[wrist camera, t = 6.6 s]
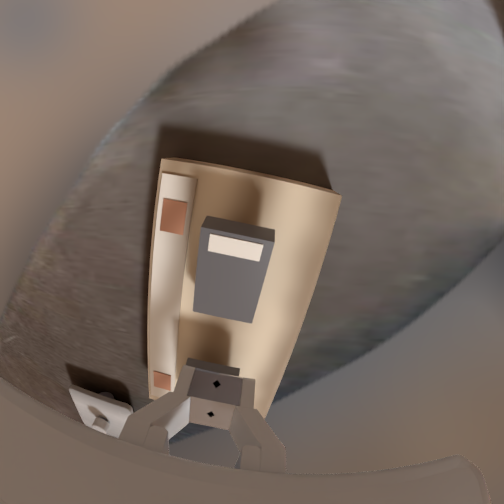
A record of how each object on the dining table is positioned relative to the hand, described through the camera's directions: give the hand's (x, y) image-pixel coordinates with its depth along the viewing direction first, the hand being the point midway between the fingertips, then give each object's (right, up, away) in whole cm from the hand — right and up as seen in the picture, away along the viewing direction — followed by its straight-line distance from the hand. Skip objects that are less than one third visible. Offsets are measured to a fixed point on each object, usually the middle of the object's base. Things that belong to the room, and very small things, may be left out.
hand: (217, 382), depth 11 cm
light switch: (-19, -17, +23) cm, 34 cm away
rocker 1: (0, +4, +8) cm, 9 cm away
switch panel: (-1, 0, +15) cm, 15 cm away
